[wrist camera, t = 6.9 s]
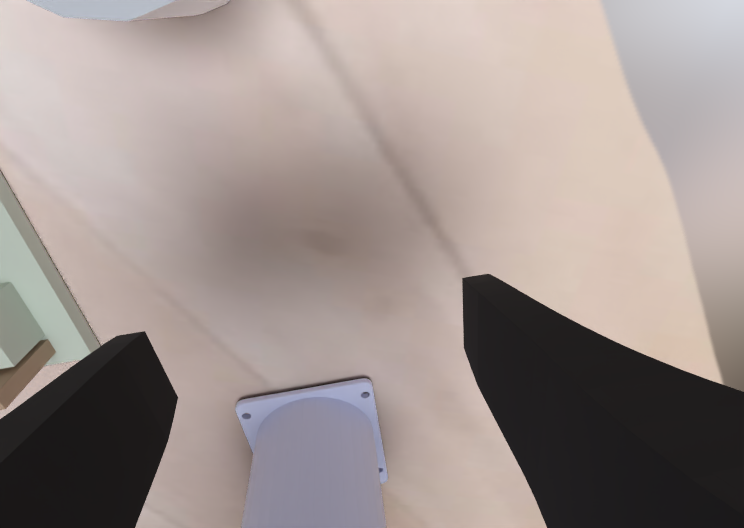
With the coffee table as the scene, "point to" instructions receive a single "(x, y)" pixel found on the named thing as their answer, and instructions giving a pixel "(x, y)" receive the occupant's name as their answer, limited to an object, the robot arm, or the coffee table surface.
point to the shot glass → (128, 8)
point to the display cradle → (33, 305)
